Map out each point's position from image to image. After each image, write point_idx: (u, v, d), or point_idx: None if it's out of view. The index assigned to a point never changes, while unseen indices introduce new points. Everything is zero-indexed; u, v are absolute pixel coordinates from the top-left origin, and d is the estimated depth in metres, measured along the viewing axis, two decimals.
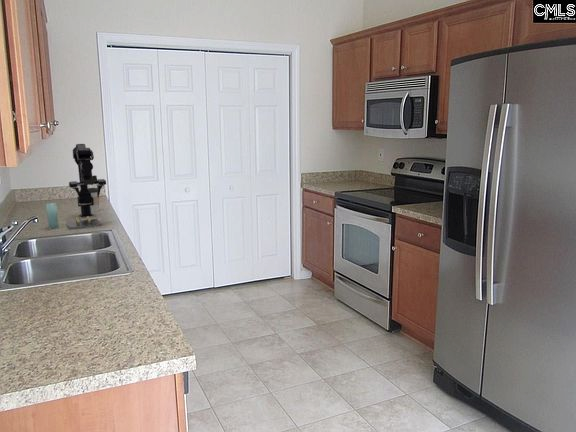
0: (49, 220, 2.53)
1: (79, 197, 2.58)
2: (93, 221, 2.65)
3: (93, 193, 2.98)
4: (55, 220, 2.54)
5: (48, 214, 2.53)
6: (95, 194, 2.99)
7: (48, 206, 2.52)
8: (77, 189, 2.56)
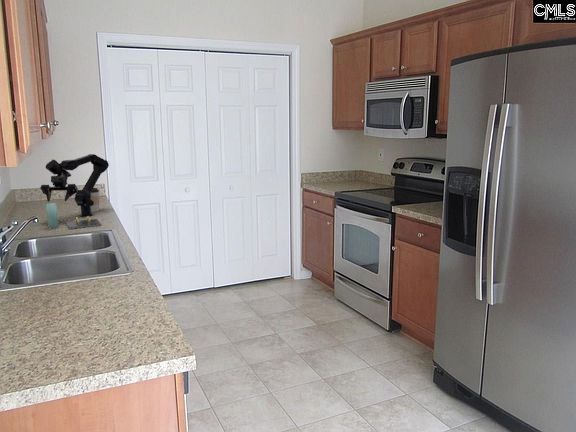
0: (49, 220, 2.53)
1: (47, 198, 2.61)
2: (93, 221, 2.65)
3: (93, 193, 2.98)
4: (55, 220, 2.54)
5: (48, 214, 2.53)
6: (95, 194, 2.99)
7: (48, 206, 2.52)
8: (46, 190, 2.62)
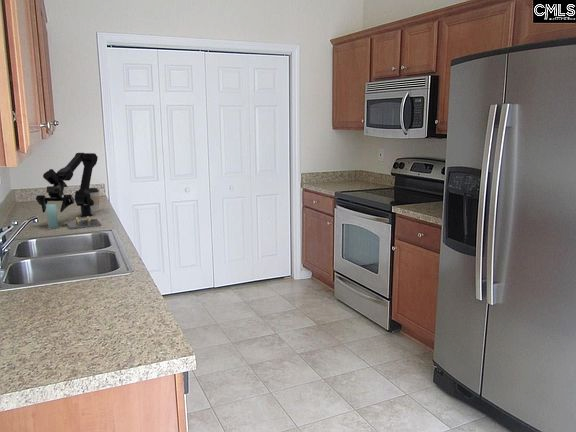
0: (49, 220, 2.53)
1: (42, 209, 2.55)
2: (93, 221, 2.65)
3: (93, 193, 2.98)
4: (55, 220, 2.54)
5: (48, 214, 2.53)
6: (95, 194, 2.99)
7: (48, 206, 2.52)
8: (42, 201, 2.56)
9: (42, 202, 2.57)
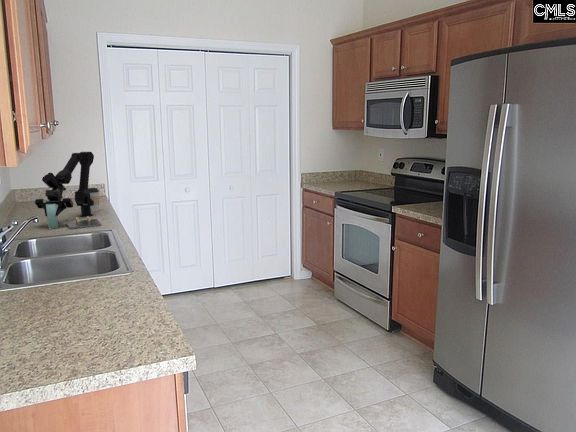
0: (49, 220, 2.53)
1: (45, 213, 2.54)
2: (93, 221, 2.65)
3: (93, 193, 2.98)
4: (55, 220, 2.54)
5: (48, 214, 2.53)
6: (95, 194, 2.99)
7: (48, 206, 2.52)
8: (44, 205, 2.55)
9: (45, 206, 2.55)
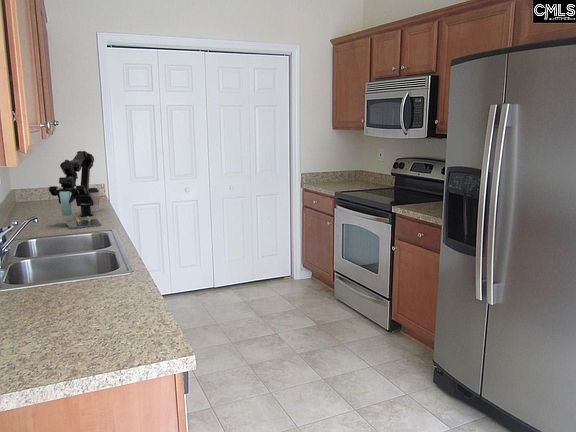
0: (63, 207, 2.55)
1: None
2: (93, 221, 2.65)
3: (93, 193, 2.98)
4: (68, 207, 2.56)
5: (62, 201, 2.54)
6: (95, 194, 2.99)
7: (62, 193, 2.53)
8: (58, 192, 2.56)
9: (58, 193, 2.56)
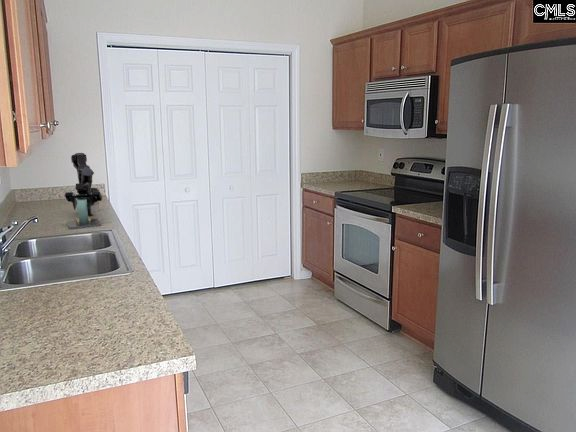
0: (80, 215, 2.58)
1: (73, 206, 2.58)
2: (93, 221, 2.65)
3: None
4: (85, 215, 2.60)
5: (79, 209, 2.58)
6: None
7: (79, 201, 2.57)
8: (73, 198, 2.60)
9: (73, 199, 2.60)
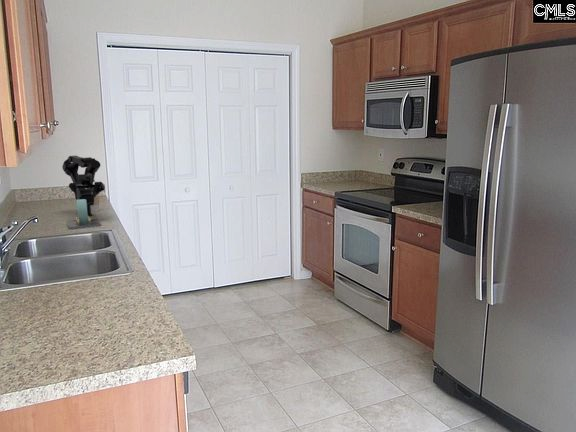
0: (79, 215, 2.58)
1: (75, 196, 2.66)
2: (93, 221, 2.65)
3: None
4: (85, 215, 2.59)
5: (79, 210, 2.58)
6: None
7: (79, 202, 2.57)
8: (74, 188, 2.67)
9: (75, 189, 2.68)
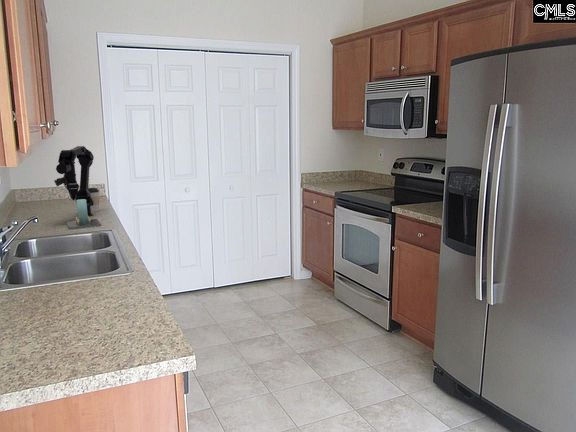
0: (79, 215, 2.58)
1: (70, 196, 2.73)
2: (93, 221, 2.65)
3: (93, 193, 2.98)
4: (85, 215, 2.59)
5: (78, 210, 2.58)
6: (95, 194, 2.99)
7: (79, 202, 2.57)
8: None
9: None
